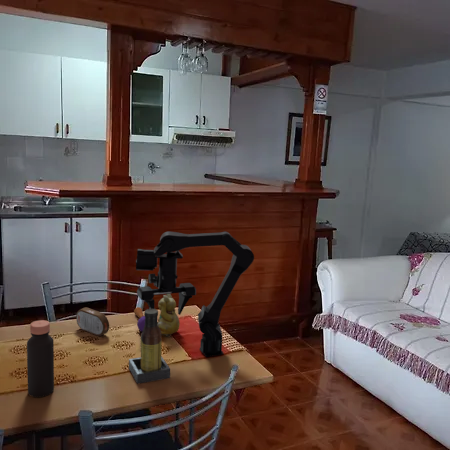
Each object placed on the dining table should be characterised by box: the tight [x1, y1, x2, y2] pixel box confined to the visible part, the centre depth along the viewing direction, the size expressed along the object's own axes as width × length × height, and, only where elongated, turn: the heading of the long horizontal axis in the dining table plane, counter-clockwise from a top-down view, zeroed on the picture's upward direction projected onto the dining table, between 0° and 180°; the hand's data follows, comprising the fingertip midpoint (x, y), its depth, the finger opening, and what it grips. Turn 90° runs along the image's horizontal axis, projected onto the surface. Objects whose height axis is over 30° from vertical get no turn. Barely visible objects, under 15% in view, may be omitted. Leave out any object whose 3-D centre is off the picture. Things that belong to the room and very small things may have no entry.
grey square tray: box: [128, 355, 171, 384], centre depth 144 cm, size 10×10×3 cm
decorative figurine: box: [157, 294, 181, 337], centre depth 173 cm, size 10×8×15 cm
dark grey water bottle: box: [26, 319, 55, 398], centre depth 129 cm, size 7×7×20 cm
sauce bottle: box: [140, 308, 163, 372], centre depth 142 cm, size 7×6×20 cm
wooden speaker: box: [75, 306, 110, 337], centre depth 170 cm, size 15×3×8 cm, turn 58°
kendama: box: [133, 306, 145, 333], centre depth 181 cm, size 6×6×20 cm
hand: (166, 315), depth 156 cm, fingers open, 9 cm apart
